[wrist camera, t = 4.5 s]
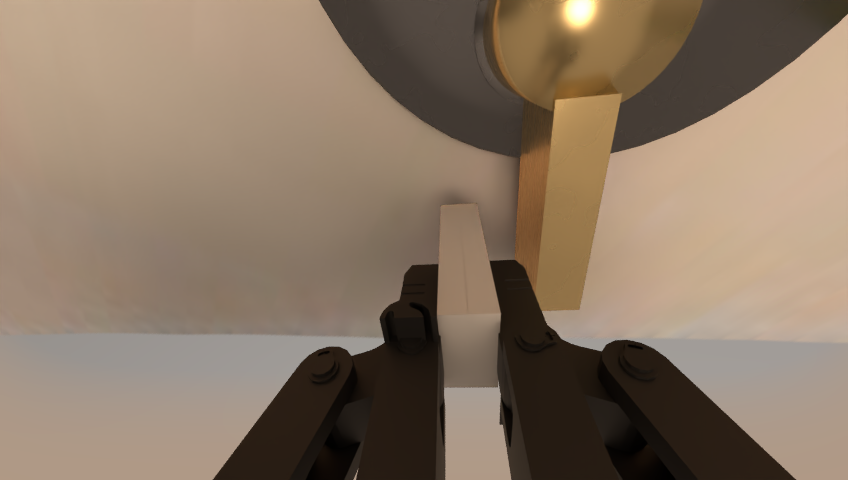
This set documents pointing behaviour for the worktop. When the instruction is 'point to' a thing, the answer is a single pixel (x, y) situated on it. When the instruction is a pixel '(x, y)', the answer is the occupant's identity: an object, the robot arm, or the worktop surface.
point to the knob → (573, 115)
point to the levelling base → (503, 111)
